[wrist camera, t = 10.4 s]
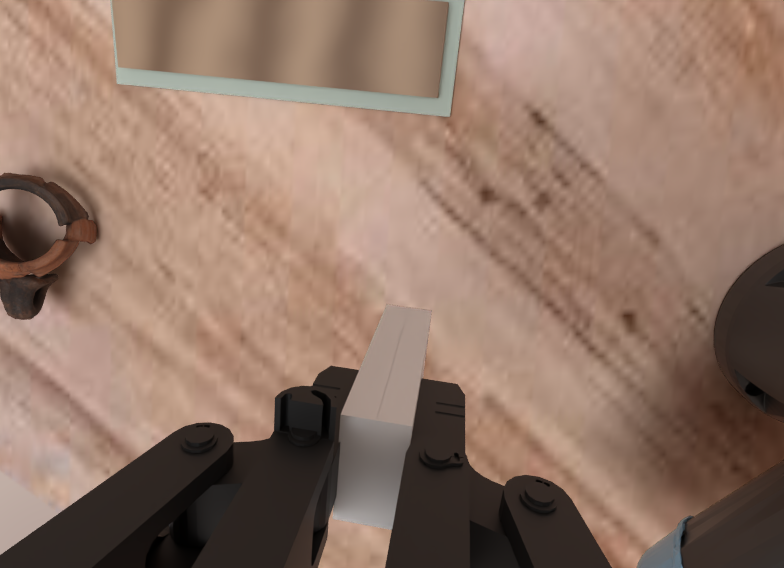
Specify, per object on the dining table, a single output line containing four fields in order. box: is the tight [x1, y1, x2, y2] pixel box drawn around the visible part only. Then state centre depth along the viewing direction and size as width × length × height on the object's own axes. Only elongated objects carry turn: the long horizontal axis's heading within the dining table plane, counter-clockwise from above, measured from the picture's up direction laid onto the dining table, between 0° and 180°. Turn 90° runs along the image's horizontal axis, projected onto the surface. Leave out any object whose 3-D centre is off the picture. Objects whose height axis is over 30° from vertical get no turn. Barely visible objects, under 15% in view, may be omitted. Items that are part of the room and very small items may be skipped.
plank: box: [112, 0, 449, 98], centre depth 36 cm, size 24×6×1 cm, turn 85°
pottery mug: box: [0, 173, 97, 320], centre depth 42 cm, size 12×10×8 cm
